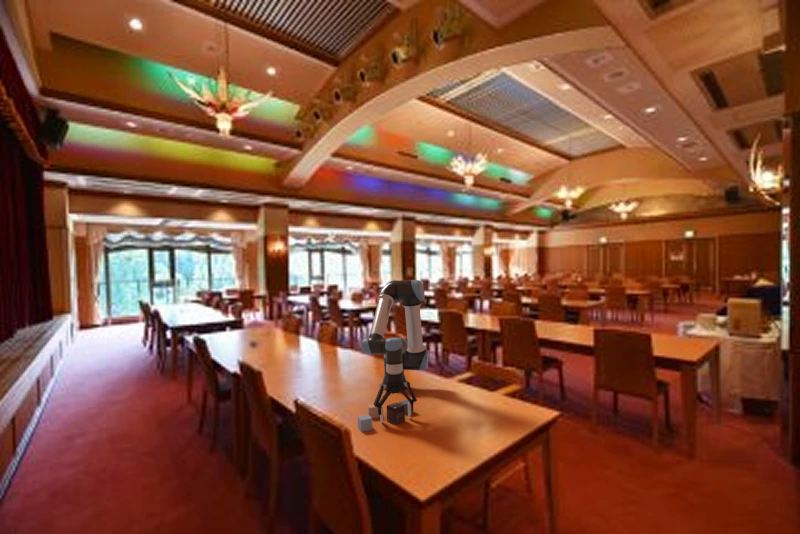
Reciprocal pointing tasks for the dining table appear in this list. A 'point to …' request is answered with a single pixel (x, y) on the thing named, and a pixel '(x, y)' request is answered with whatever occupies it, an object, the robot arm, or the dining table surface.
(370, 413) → the cube terracotta
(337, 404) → the dining table surface
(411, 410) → the cube charcoal
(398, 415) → the box
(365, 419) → the cube slate
